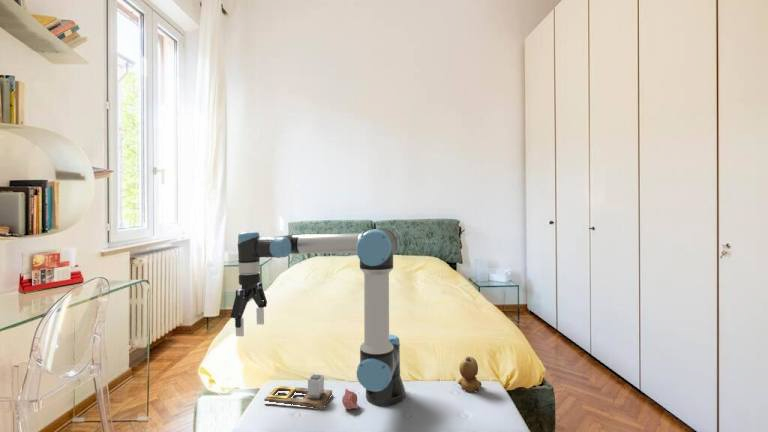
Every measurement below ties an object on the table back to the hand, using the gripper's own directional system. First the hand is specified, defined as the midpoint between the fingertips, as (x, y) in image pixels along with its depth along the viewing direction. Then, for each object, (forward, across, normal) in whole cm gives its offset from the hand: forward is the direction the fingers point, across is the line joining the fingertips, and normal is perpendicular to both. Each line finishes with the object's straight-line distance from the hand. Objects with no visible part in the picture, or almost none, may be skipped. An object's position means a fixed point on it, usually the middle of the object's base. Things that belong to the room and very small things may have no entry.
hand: (250, 329), depth 131 cm
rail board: (+28, -5, +16) cm, 33 cm away
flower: (+28, -3, +37) cm, 47 cm away
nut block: (+28, -5, +23) cm, 37 cm away
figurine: (+28, -23, +80) cm, 88 cm away
